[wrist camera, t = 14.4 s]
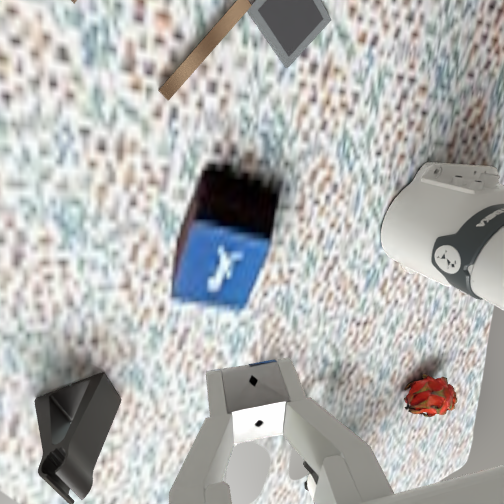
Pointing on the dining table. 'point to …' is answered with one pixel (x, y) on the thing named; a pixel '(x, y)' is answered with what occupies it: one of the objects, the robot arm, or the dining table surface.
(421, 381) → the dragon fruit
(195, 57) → the walnut track
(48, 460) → the phone stand
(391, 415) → the dining table surface
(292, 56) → the trap pits
